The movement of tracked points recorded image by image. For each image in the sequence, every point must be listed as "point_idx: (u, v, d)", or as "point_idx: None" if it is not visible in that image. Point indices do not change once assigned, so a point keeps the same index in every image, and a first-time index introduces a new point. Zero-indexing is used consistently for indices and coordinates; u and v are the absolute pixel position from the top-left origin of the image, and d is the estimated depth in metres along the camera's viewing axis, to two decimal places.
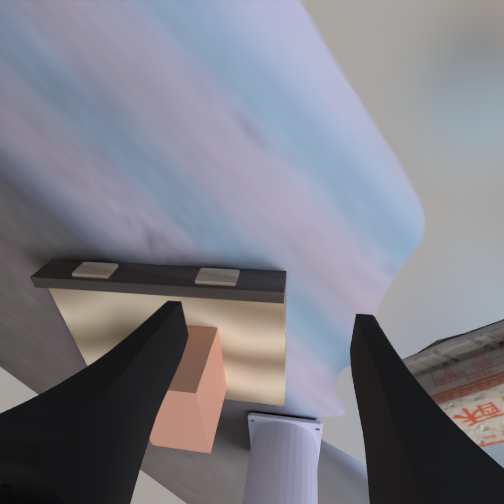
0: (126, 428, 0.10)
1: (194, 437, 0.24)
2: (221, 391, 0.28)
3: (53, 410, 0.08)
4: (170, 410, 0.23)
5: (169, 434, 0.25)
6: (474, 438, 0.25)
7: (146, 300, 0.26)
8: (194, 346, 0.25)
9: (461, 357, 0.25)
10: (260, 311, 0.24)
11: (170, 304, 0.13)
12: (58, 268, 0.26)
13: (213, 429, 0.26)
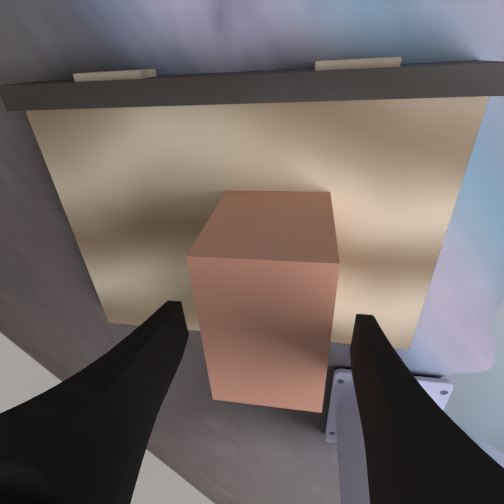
0: (126, 428, 0.10)
1: (300, 379, 0.13)
2: None
3: (53, 410, 0.08)
4: (268, 315, 0.11)
5: (251, 375, 0.13)
6: None
7: (205, 137, 0.14)
8: (299, 210, 0.13)
9: None
10: (424, 144, 0.13)
11: (170, 305, 0.13)
12: (49, 82, 0.14)
13: None
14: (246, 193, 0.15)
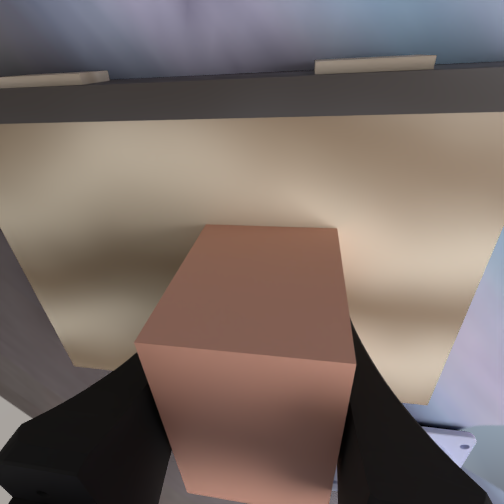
0: (154, 432, 0.09)
1: (298, 483, 0.10)
2: None
3: (86, 414, 0.08)
4: (253, 416, 0.08)
5: (234, 474, 0.10)
6: None
7: (173, 160, 0.11)
8: (297, 259, 0.10)
9: None
10: (459, 171, 0.10)
11: None
12: None
13: None
14: (230, 229, 0.12)
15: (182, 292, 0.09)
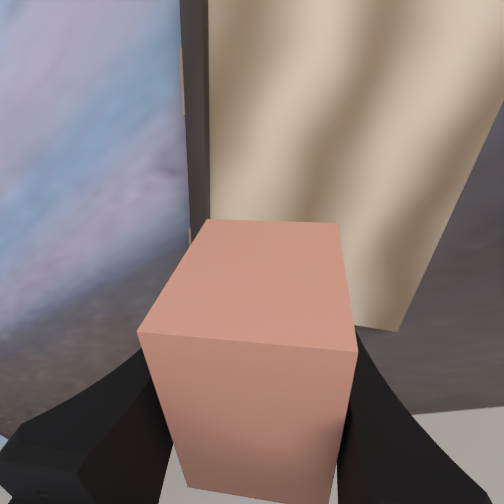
0: (154, 432, 0.09)
1: (299, 476, 0.10)
2: None
3: (86, 415, 0.08)
4: (255, 407, 0.08)
5: (235, 467, 0.10)
6: None
7: (233, 200, 0.19)
8: (298, 252, 0.10)
9: None
10: (248, 9, 0.14)
11: None
12: None
13: None
14: (231, 223, 0.12)
15: (184, 283, 0.09)
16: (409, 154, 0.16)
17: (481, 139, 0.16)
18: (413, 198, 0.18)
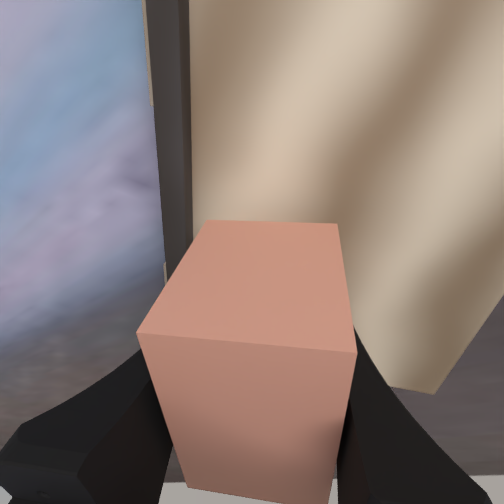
0: (154, 432, 0.09)
1: (299, 476, 0.10)
2: None
3: (86, 414, 0.08)
4: (255, 407, 0.08)
5: (234, 467, 0.10)
6: None
7: None
8: (298, 252, 0.10)
9: None
10: None
11: None
12: None
13: None
14: (231, 224, 0.12)
15: (184, 284, 0.09)
16: (481, 171, 0.11)
17: None
18: (479, 232, 0.12)
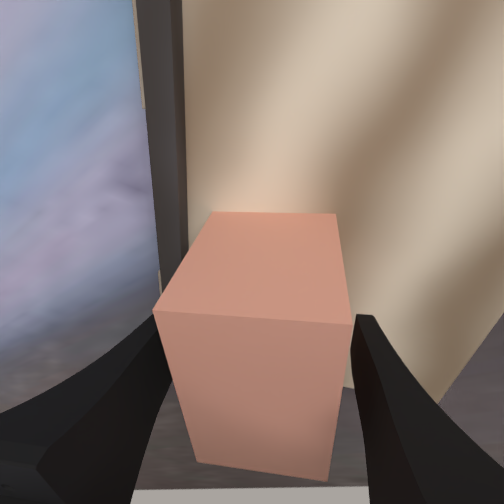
0: (126, 428, 0.10)
1: (301, 447, 0.11)
2: None
3: (53, 410, 0.08)
4: (260, 380, 0.09)
5: (241, 440, 0.11)
6: None
7: None
8: (299, 240, 0.11)
9: None
10: None
11: None
12: None
13: None
14: (235, 215, 0.13)
15: (193, 269, 0.10)
16: (488, 177, 0.11)
17: None
18: (485, 240, 0.12)
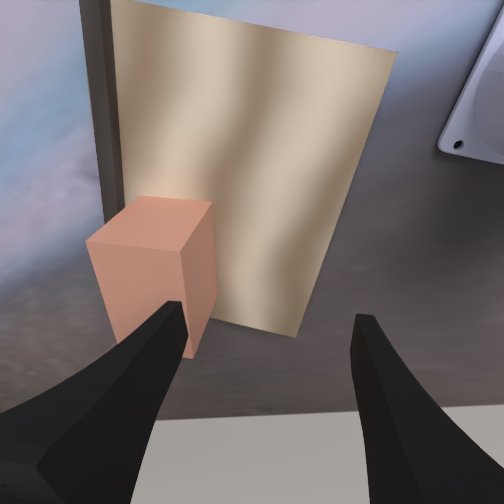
0: (126, 428, 0.10)
1: None
2: (211, 293, 0.23)
3: (53, 410, 0.08)
4: (144, 284, 0.17)
5: None
6: None
7: None
8: (180, 214, 0.19)
9: None
10: (148, 49, 0.16)
11: (170, 304, 0.13)
12: None
13: (198, 331, 0.20)
14: (152, 198, 0.21)
15: (114, 224, 0.17)
16: (291, 186, 0.19)
17: (348, 180, 0.18)
18: (298, 223, 0.20)
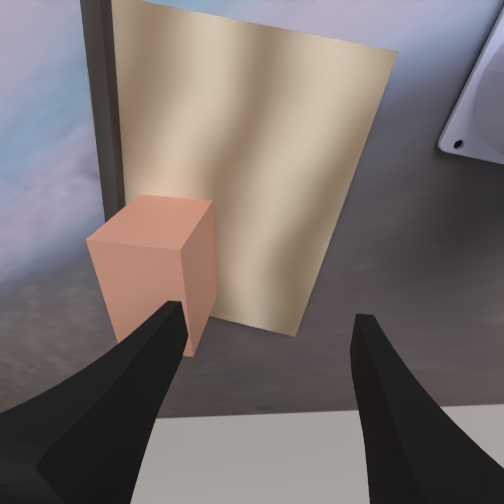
0: (126, 428, 0.10)
1: None
2: (211, 292, 0.23)
3: (53, 410, 0.08)
4: (144, 283, 0.17)
5: None
6: None
7: None
8: (180, 213, 0.19)
9: None
10: (148, 47, 0.16)
11: (170, 305, 0.13)
12: None
13: (198, 329, 0.20)
14: (152, 197, 0.21)
15: (114, 223, 0.17)
16: (291, 185, 0.19)
17: (348, 179, 0.18)
18: (298, 222, 0.20)
